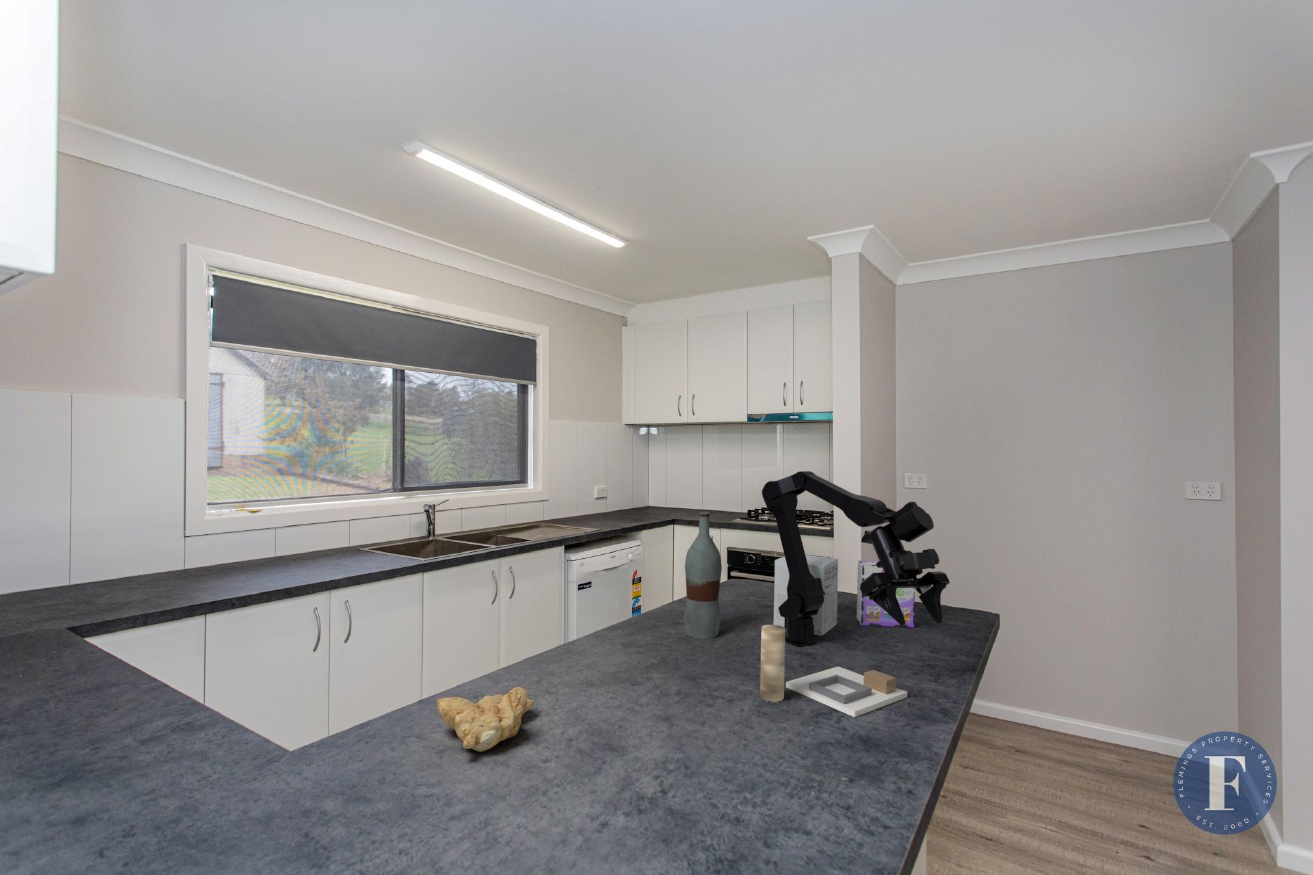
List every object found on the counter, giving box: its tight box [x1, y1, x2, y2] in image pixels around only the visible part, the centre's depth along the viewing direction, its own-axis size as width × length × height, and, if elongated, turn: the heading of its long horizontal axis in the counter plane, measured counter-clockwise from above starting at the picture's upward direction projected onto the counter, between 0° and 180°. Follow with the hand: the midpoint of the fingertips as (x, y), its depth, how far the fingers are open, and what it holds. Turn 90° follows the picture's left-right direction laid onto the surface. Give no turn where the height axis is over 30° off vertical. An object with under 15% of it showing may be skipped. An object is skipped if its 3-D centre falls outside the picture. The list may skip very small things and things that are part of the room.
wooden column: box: [759, 624, 786, 703], centre depth 119 cm, size 4×4×13 cm
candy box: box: [856, 559, 916, 628], centre depth 170 cm, size 14×6×16 cm, turn 84°
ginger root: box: [436, 686, 535, 753], centre depth 101 cm, size 16×16×8 cm
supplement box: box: [772, 554, 839, 636], centre depth 166 cm, size 13×13×18 cm
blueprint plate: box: [785, 666, 908, 718], centre depth 122 cm, size 16×16×4 cm
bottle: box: [683, 511, 723, 640], centre depth 157 cm, size 9×9×30 cm
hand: (922, 623), depth 125 cm, fingers open, 9 cm apart
